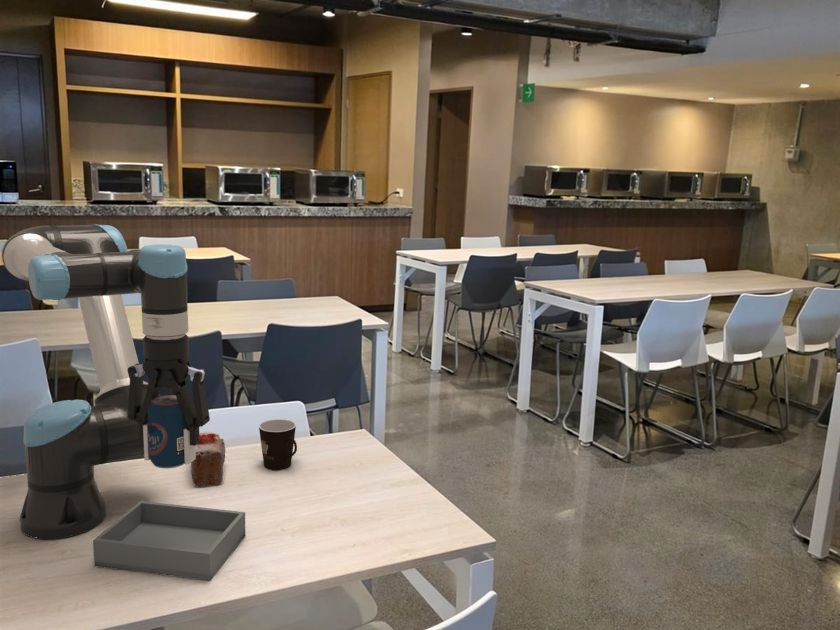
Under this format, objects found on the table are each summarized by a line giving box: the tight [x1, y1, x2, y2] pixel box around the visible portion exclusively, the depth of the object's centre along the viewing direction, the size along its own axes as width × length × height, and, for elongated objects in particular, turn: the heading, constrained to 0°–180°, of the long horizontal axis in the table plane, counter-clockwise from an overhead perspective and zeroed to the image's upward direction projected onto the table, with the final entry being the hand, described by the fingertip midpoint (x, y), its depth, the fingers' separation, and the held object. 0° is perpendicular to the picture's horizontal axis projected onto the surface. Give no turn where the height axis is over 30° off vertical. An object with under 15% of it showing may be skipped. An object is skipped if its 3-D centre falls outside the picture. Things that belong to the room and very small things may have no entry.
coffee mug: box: [258, 418, 298, 472], centre depth 170 cm, size 12×9×10 cm
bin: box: [92, 500, 246, 582], centre depth 132 cm, size 22×16×5 cm
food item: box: [190, 431, 226, 488], centre depth 165 cm, size 14×8×10 cm, turn 19°
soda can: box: [147, 393, 188, 469], centre depth 128 cm, size 7×7×12 cm
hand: (170, 459), depth 129 cm, fingers closed on soda can, 7 cm apart
